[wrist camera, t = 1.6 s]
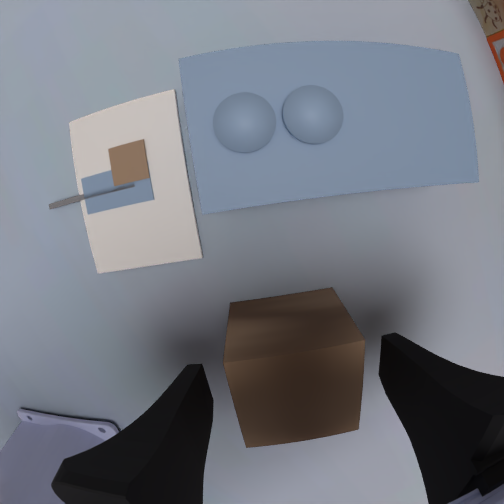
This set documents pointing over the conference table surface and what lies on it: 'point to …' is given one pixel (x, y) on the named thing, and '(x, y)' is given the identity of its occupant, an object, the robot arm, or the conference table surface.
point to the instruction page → (134, 184)
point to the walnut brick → (294, 367)
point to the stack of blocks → (492, 26)
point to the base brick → (325, 121)
